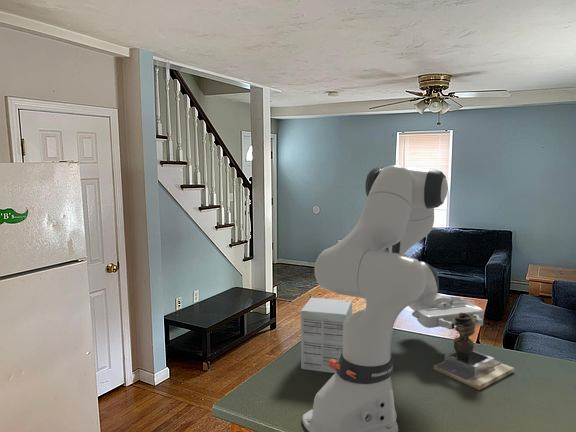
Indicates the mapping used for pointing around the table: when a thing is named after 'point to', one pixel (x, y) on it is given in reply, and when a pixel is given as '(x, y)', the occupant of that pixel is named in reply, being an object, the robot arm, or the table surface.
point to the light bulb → (464, 336)
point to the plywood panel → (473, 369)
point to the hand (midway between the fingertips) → (466, 325)
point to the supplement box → (322, 332)
